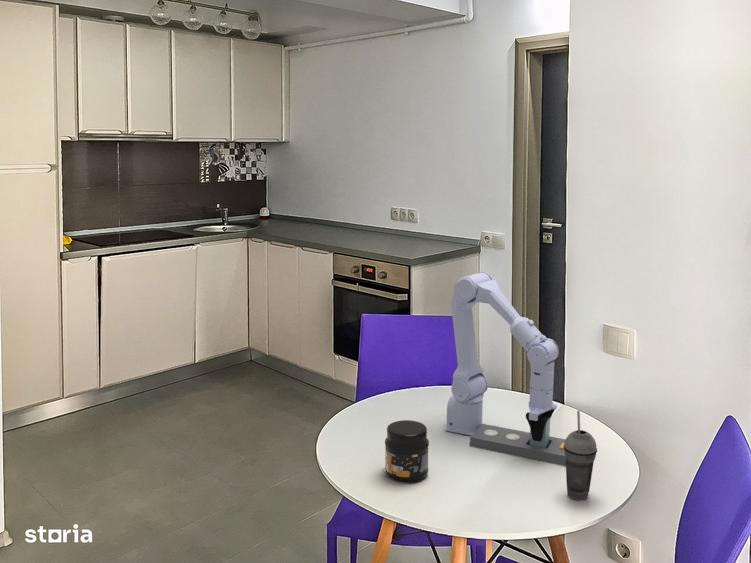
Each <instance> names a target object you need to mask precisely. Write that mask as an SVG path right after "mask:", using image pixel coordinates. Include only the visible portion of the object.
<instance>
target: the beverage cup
mask: <svg viewBox="0 0 751 563" xmlns="http://www.w3.org/2000/svg"><path fill="white" fill-rule="evenodd" d="M576 412H577V415H576V416H577V430H574V431H572V432H570V433H568V435H567V436H566V438H565V439H566V440H565V444H564V453H565V457H566V466H565V473H566V474H565V478H566V492H567V494H566V496H567V497H568V498H569V499H571V500H573V501H577V502H584V501H586V500H588V499H589V494H590V489H591V482H592V476H593V471H594V470H593V469H594V461H595V460H596V455H597V453H598V448H597V443H596V440H595V438H594V436H592V434H591V433H590V432H588V431H586V430H583V429H581V416H580V410H577V411H576Z"/></svg>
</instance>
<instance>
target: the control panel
mask: <svg viewBox="0 0 751 563" xmlns="http://www.w3.org/2000/svg"><path fill="white" fill-rule="evenodd" d="M565 440H566V438H560V437H556V436H550V435H549V444H548V445H547V447H546V448H542V447H536V446H531V445H530V431H525V430H524V431H522V430H519V429H518V430H517V429H514V428H513V429H511V428H506V427H503V426H498V425H491V424H486V423H482V425H481V426H480V427H479V428H478V429H477V430H476V431H475V432H474V434H473V435H472V436H471V435H470V437H469V447H472V448H473V447H474V448H478V449H482V450H488V451H492V452H496V453H497V452H498V453H501V454H506V455H507V454H508V455H512V456H516V457H521V458H527V459H531V460H537V461H542V462H545V463H551V464H556V465H561V466H565V467H566V457H565V453H564V444H565Z"/></svg>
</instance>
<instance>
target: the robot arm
mask: <svg viewBox="0 0 751 563" xmlns="http://www.w3.org/2000/svg"><path fill="white" fill-rule="evenodd" d="M498 284H499V283H498V282H497V281H496V280H495V279H493V276H492V275H491V274H490V273H489V272H486V271H480V272H478V273H475V274H471V275H470V274H469V275H467V276H465V275H464V276H461V277H460V278H459V279H458V280H456V282H455V283H453V291H454V292H453V294H452V298H451V301H450V308H451V318H452V325H453V333H454V342H455V343H454V344H455V351H456V361H457V362H456V363H457V367H456V369H455V370H454V372H453V375H452V384H451V390H450V391H451V395H452V396H450V397H449V399H448V401H447V404H446V405H447V406H446V428H445V431H446V432H449V433H457V434H460V435H461V434H462V435H466V436H470V437H471V436H472V435H473V434H474V432H475V431H476V430H477V429H478V428H479V427H480V426H481V425H482V424H483V408H484V407H483V404H484V403H483V402H484V400H483V398H484V397H485V396H484V394H485V393H486V392H487V390H488V388H489V382H488V379H487V376H486V374H485V371H484V368H483V366H481V365H480V364H479V360H478V353H477V344H476V341H477V340H476V335H475V334H476V332H475V326H474V325H475V324H474V323H475V322H474V316H473V307H474V306H475V305H476V304H477V303H482V304H489V305H490V306H491V307H492V309H494V310H495V311H496V313H498V315H500V316H501V318H502V319H504V320H505V322H507V324H508V325H509V326H510V328H509V333H511V335H512V336H513V337H514V338H515V340H517V342H518V343H519V344H520V345H521V346H522V348H523V349H524V350H525V351H526V357H527V360H528V361H529V364H530V379H529V380H530V381H529V382H530V384H529V402H528V409H529V412H528V411H527V412H526V414H525V419H526V421H527V422H528V425H529V430H530V429H531V434H532V439H533V440H534V441H539V442H541V440H542V437H543V432H544V428H545V425H546V422H547V420H548V419H549V417H550V420H551V418H552V417H553V415H554V412H555V410H557V408H558V405H557V404H555V403H553V398H554V378H555V360H556V359H558V357H559V354H560V353H559V352H560V351H559V350H560V349H559V346H558V344H557V343H556V341H555V340H554V339H551V338H550V337H549V338H547V336H546V335H545V334H543V333H541V331H540V330H539V329H538V327H536V326H535V322H534V321H533V320H532V319H529V318H528V317H524V316H520V314H519V313H518V312H517V310H516V309H515V308H514V306H513V305H512V303H511V302H510V301H509V299H508V298H507V297H506V295H504V293H503V292H502V291H501V289H500V287H499V285H498Z"/></svg>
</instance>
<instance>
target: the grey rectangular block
mask: <svg viewBox="0 0 751 563" xmlns="http://www.w3.org/2000/svg"><path fill="white" fill-rule="evenodd" d="M550 428H551V419H550V417H549V419H548V420H547V422H546V425H545V428H544V432H543V437H542V440H541V442H539V441H534V440H533V439H532V434H531V429H530V428H529V430H530V431H529V433H530V445H531V446H536V447H542V448H546V447H547V445H548V444H549V436H550V432H551V431H550Z"/></svg>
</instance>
